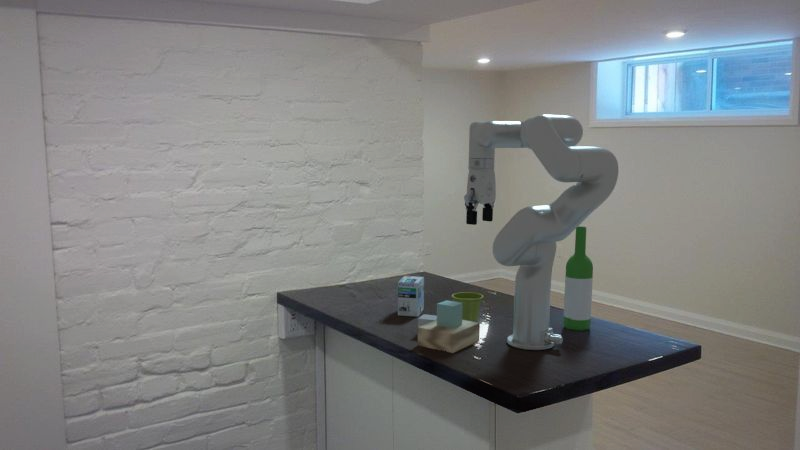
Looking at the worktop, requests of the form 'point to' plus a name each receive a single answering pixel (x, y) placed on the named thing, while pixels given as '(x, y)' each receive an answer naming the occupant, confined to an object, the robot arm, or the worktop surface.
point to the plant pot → (469, 304)
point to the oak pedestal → (448, 336)
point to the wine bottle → (578, 286)
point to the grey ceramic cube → (426, 319)
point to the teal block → (449, 314)
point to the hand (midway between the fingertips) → (479, 222)
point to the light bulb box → (410, 296)
